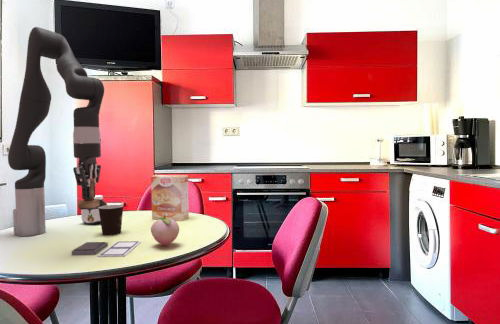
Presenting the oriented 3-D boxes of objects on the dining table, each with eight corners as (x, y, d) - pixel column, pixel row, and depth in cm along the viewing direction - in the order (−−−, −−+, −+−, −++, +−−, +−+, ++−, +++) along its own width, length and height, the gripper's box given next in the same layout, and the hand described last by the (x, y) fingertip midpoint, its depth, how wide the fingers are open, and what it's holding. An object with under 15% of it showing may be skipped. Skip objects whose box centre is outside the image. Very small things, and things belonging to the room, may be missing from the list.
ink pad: (71, 255, 101) (71, 250, 101) (85, 246, 110) (85, 241, 110) (95, 254, 101) (95, 249, 101) (107, 246, 110) (107, 241, 110)
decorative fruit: (184, 246, 110) (184, 215, 109) (161, 251, 104) (161, 218, 104) (169, 240, 116) (169, 211, 116) (147, 245, 111) (146, 214, 110)
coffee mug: (115, 236, 122) (114, 209, 122) (94, 235, 124) (93, 208, 124) (132, 229, 134) (132, 203, 133) (113, 228, 135) (112, 203, 135)
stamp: (78, 209, 103) (77, 178, 103) (85, 207, 108) (84, 177, 107) (93, 209, 103) (92, 178, 103) (99, 206, 108) (98, 177, 107)
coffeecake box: (151, 219, 152) (150, 175, 151) (160, 216, 159) (159, 174, 158) (181, 221, 148) (180, 176, 147) (189, 218, 154) (188, 175, 154)
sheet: (97, 256, 100) (97, 255, 100) (116, 242, 114) (116, 241, 114) (125, 256, 100) (125, 254, 100) (140, 242, 115) (140, 240, 115)
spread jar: (78, 224, 143) (77, 197, 143) (98, 219, 154) (97, 193, 154) (101, 226, 139) (100, 198, 139) (120, 220, 150) (119, 194, 150)
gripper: (85, 142, 112) (87, 195, 112) (62, 141, 98) (64, 202, 98) (108, 142, 112) (110, 195, 112) (89, 141, 98) (90, 201, 98)
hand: (88, 198), depth 105 cm, fingers closed on stamp, 2 cm apart
